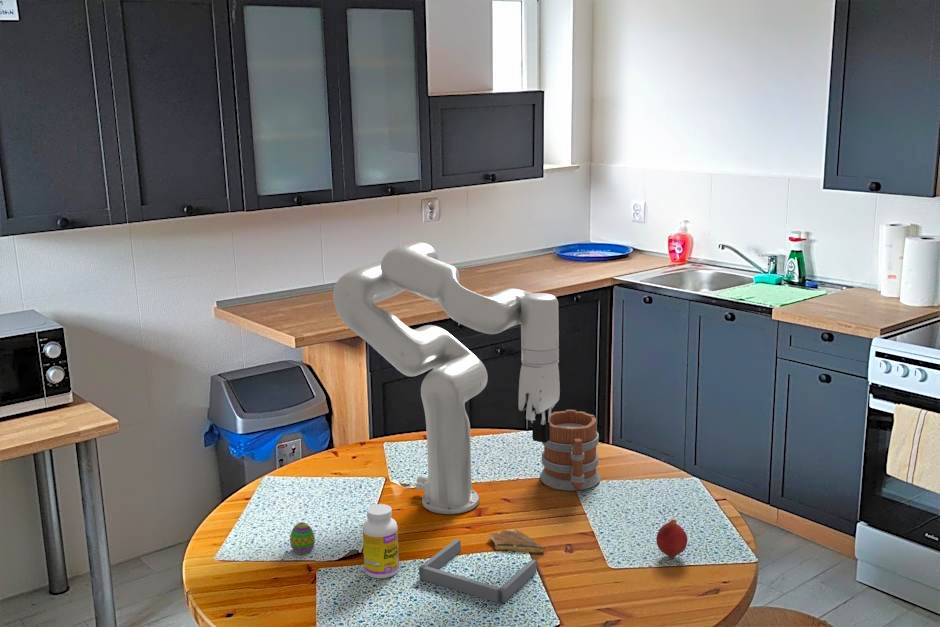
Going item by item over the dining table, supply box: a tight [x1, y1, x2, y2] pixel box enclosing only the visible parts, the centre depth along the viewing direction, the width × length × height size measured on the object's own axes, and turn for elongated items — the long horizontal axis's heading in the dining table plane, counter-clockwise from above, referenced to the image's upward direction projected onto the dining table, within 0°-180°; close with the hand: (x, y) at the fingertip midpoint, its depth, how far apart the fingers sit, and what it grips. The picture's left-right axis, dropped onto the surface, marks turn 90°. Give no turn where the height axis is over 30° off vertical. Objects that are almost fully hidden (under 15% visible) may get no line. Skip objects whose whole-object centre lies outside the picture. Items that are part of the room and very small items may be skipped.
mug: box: [539, 409, 601, 492], centre depth 219 cm, size 14×19×15 cm
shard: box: [488, 528, 546, 553], centre depth 192 cm, size 11×8×2 cm
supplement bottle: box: [362, 503, 400, 579], centre depth 182 cm, size 7×7×13 cm
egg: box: [289, 521, 316, 555], centre depth 192 cm, size 5×5×6 cm
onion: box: [655, 518, 688, 559], centre depth 185 cm, size 6×6×8 cm
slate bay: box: [418, 538, 538, 605], centre depth 181 cm, size 18×13×2 cm
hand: (541, 440), depth 198 cm, fingers closed
